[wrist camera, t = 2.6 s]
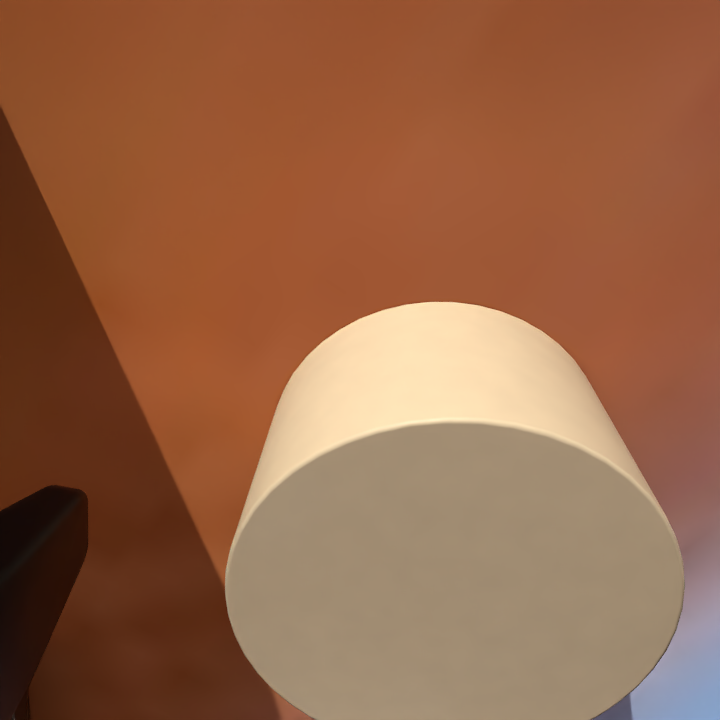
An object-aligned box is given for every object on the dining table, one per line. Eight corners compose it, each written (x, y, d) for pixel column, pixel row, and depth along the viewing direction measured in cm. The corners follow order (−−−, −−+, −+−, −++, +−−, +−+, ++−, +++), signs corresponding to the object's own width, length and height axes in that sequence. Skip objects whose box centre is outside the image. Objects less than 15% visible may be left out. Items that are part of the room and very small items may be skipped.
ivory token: (655, 338, 9) (774, 473, 6) (541, 597, 11) (590, 782, 9) (296, 268, 9) (249, 374, 6) (255, 546, 11) (206, 718, 8)
